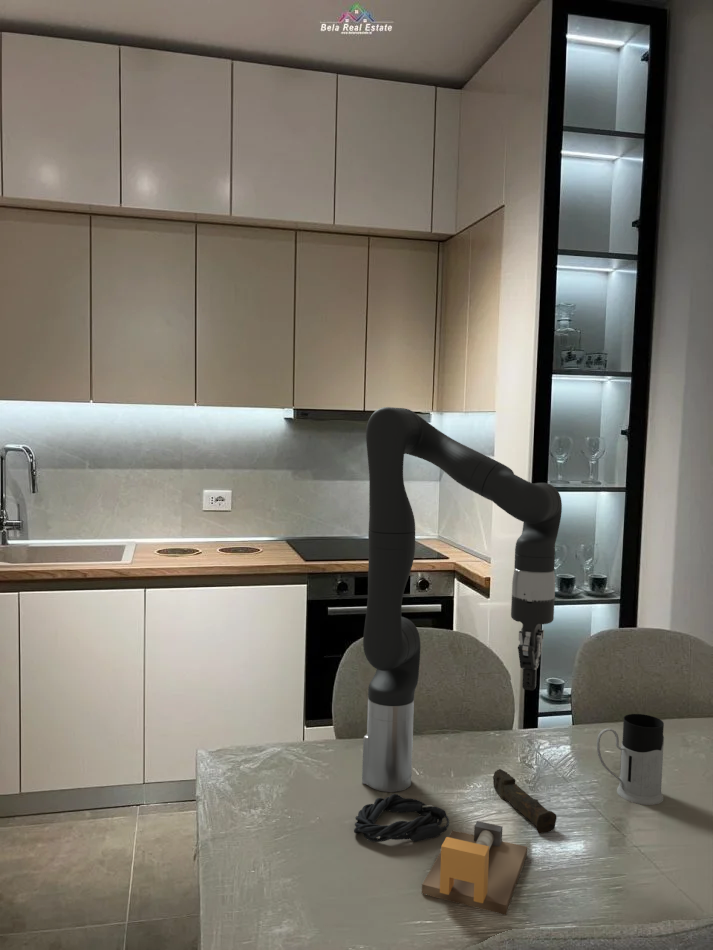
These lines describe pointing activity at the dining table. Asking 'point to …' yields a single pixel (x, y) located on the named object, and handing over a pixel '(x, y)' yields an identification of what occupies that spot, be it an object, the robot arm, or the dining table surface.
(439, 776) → the dining table surface
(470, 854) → the notched block
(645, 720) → the glass holder
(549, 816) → the dark brown tapered rod
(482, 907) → the wooden base plate
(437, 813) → the cable
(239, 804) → the dining table surface
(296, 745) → the dining table surface
